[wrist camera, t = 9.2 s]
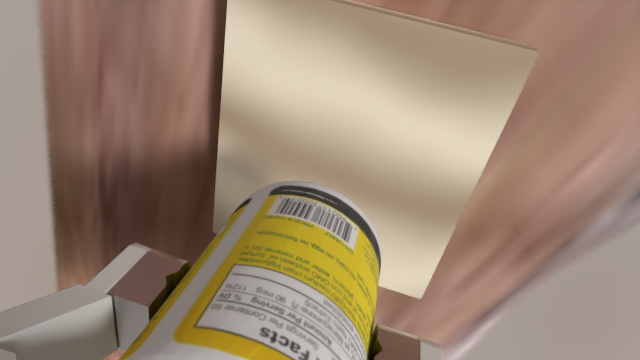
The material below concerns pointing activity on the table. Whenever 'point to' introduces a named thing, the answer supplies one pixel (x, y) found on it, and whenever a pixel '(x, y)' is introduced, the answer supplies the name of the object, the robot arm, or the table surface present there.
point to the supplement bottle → (275, 284)
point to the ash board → (365, 116)
